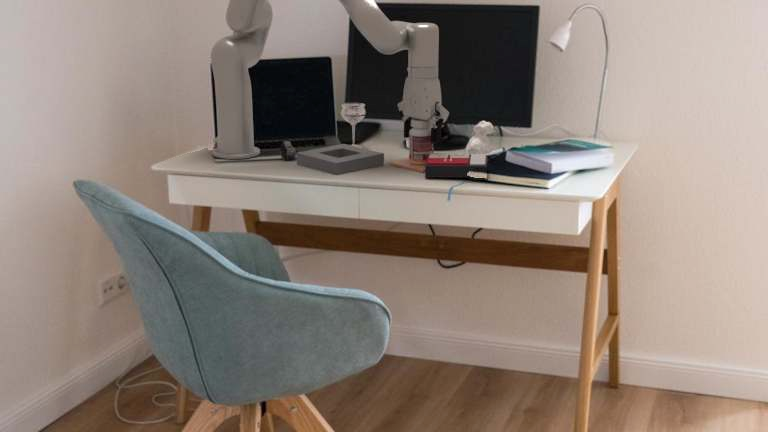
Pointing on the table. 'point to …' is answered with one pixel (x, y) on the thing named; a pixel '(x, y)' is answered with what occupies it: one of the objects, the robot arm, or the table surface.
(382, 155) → the block
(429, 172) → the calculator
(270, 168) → the table surface
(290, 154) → the wristwatch
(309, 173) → the table surface
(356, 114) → the wineglass
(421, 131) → the pill bottle
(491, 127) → the bust
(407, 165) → the tile
